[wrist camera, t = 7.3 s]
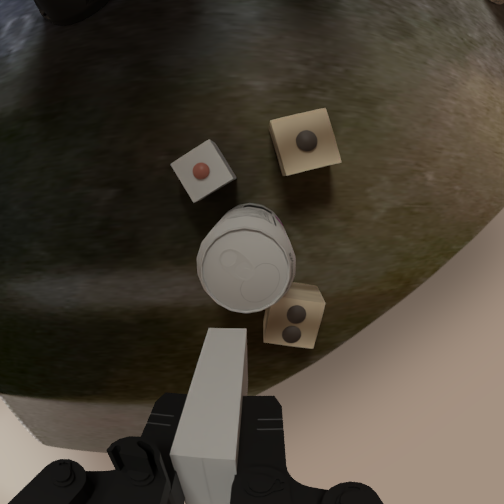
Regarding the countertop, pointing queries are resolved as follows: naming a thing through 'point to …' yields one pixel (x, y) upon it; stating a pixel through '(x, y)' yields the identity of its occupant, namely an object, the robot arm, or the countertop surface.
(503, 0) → the teacup with lid
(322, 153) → the maple block
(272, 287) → the supplement can
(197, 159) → the grey plastic block
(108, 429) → the countertop surface
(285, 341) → the maple block
